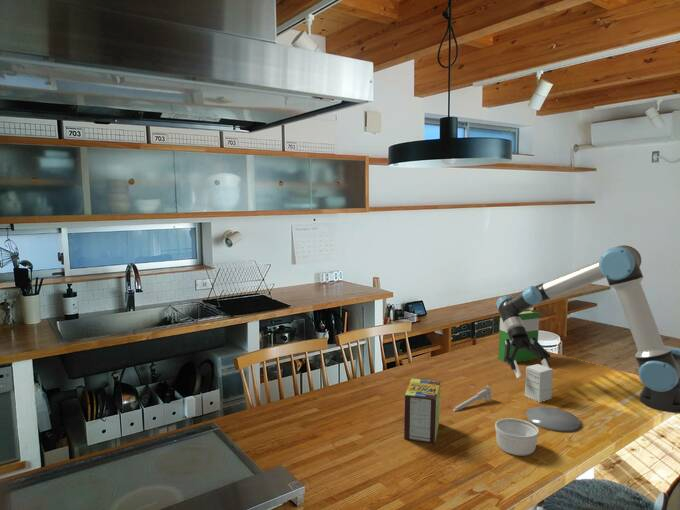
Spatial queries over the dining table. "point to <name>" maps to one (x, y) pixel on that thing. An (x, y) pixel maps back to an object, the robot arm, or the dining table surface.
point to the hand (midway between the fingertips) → (534, 375)
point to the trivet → (553, 419)
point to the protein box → (422, 410)
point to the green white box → (532, 329)
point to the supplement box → (538, 382)
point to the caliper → (475, 398)
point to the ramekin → (516, 436)
